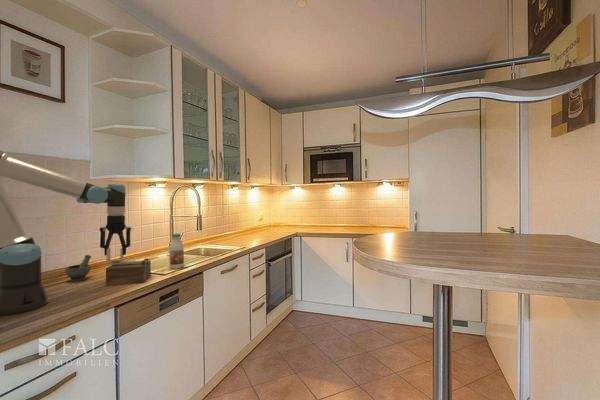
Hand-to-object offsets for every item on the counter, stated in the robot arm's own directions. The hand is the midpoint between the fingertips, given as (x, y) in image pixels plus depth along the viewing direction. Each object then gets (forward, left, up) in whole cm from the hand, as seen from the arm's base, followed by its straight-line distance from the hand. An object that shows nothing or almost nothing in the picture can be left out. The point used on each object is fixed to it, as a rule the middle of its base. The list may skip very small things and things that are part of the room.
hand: (115, 261), depth 142 cm
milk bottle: (+20, -25, -10) cm, 34 cm away
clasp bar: (0, -6, -2) cm, 6 cm away
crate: (0, -6, -10) cm, 12 cm away
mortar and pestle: (+8, +19, -10) cm, 23 cm away
